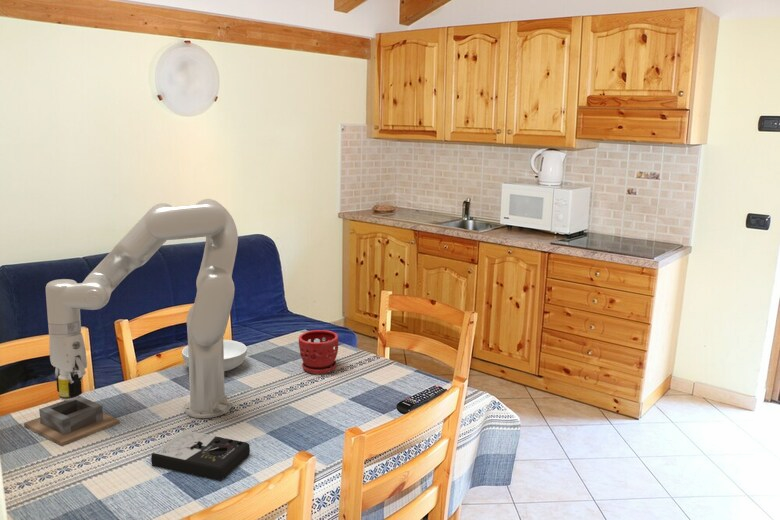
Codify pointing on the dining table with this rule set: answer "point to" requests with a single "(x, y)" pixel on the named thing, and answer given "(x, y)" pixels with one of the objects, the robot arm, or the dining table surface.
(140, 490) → the dining table surface
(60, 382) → the supplement bottle
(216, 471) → the multimeter
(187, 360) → the serving bowl
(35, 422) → the pocket board
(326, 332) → the plant pot
